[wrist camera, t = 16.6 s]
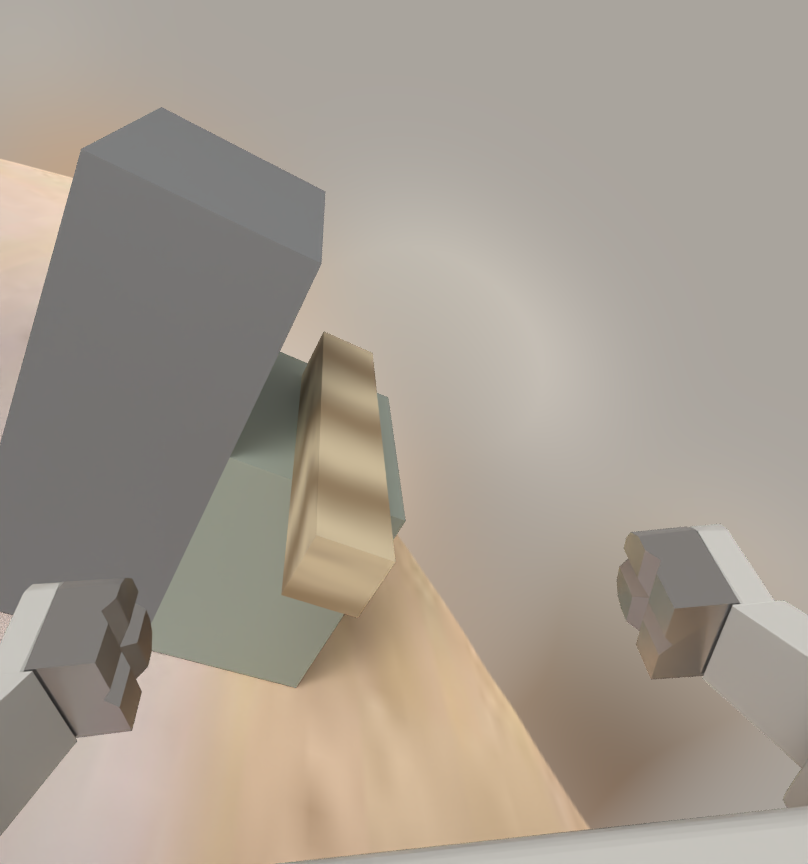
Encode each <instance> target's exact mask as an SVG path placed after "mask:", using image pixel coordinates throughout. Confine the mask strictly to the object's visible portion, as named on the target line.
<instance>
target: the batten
mask: <svg viewBox="0 0 808 864" xmlns="http://www.w3.org/2000/svg"><path fill="white" fill-rule="evenodd" d="M395 562H396V561H395V552H394V543H393V534H392V525H391V516H390V507H389V498H388V489H387V480H386V471H385V462H384V453H383V444H382V435H381V426H380V417H379V408H378V399H377V390H376V380H375V371H374V362H373V354H372V353H371V352H369V351H367V350H364V349H362V348H360V347H358V346H355V345H353V344H351V343H349V342H346V341H344V340H342V339H340V338H337V337H335V336H333V335H331V334H328V333H326V332H323V334H322V336H321V338H320V340H319V342H318V344H317V346H316V348H315V350H314V352H313V354H312V356H311V358H310V360H309V362H308V364H307V366H306V368H305V370H304V372H303V374H302V379H301V390H300V401H299V411H298V422H297V433H296V444H295V454H294V465H293V476H292V486H291V497H290V508H289V518H288V529H287V540H286V551H285V561H284V572H283V583H282V593H281V595H283V596H286V597H289V598H293V599H296V600H299V601H303V602H306V603H309V604H313V605H316V606H319V607H322V608H326V609H329V610H332V611H336V612H339V613H342V614H346V615H349V616H352V617H355V618H358V617H359V616H360V614H361V613H362V611H363V610H364V608H365V607H366V605H367V604H368V602H369V601H370V599H371V598H372V596H373V595H374V593H375V592H376V590H377V589H378V587H379V586H380V584H381V583H382V581H383V580H384V578H385V577H386V575H387V574H388V573H389V571H390V570H391V568H392V567H393V565H394V564H395Z"/></svg>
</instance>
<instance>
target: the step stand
mask: <svg viewBox="0 0 808 864" xmlns="http://www.w3.org/2000/svg"><path fill="white" fill-rule="evenodd" d="M324 206H325V191H323V190H321V189H319V188H317V187H315V186H313V185H311V184H310V183H308V182H306V181H304V180H302V179H300V178H298V177H296V176H294V175H292V174H290V173H288V172H286V171H284V170H282V169H281V168H278V167H277V166H275V165H273V164H271V163H269V162H267V161H265V160H263V159H261V158H259V157H257V156H255V155H253V154H251V153H249V152H248V151H246V150H244V149H242V148H239V147H238V146H236V145H234V144H232V143H230V142H228V141H226V140H224V139H222V138H220V137H218V136H216V135H215V134H213V133H211V132H209V131H207V130H205V129H203V128H201V127H199V126H197V125H195V124H193V123H191V122H189V121H187V120H185V119H183V118H182V117H180V116H178V115H176V114H174V113H172V112H170V111H168V110H166V109H164V108H162V107H161V108H159V109H157V110H155V111H153V112H152V113H150V114H148V115H146V116H144V117H142V118H140V119H138V120H136V121H134V122H132V123H130V124H128V125H126V126H124V127H123V128H121V129H119V130H117V131H115V132H113V133H111V134H109V135H107V136H105V137H103V138H101V139H99V140H98V141H96V142H94V143H92V144H90V145H88V146H86V147H84V148H82V149H81V152H80V155H79V159H78V163H77V166H76V170H75V174H74V177H73V181H72V184H71V188H70V192H69V195H68V199H67V203H66V206H65V210H64V214H63V217H62V221H61V225H60V228H59V232H58V235H57V239H56V243H55V246H54V250H53V254H52V257H51V261H50V265H49V268H48V272H47V276H46V279H45V283H44V286H43V290H42V294H41V297H40V301H39V305H38V308H37V312H36V316H35V319H34V323H33V326H32V330H31V334H30V337H29V341H28V345H27V348H26V352H25V356H24V359H23V363H22V367H21V370H20V374H19V377H18V381H17V385H16V388H15V392H14V396H13V399H12V403H11V407H10V410H9V414H8V418H7V421H6V425H5V428H4V432H3V436H2V439H1V443H0V612H4V613H8V614H12V615H13V614H14V612H15V610H16V608H17V606H18V604H19V601H20V599H21V597H22V595H23V593H24V592H25V591H26V590H27V589H28V588H29V587H30V586H31V585H32V584H42V583H56V582H66V581H81V580H97V579H113V578H132V579H133V581H134V583H135V585H136V587H137V589H138V591H139V592H138V595H137V599H136V602H135V603H136V604H138V605H140V606H141V607H143V608H145V609H146V610H147V613H148V615H149V618H150V621H151V627H152V651H155V652H159V653H163V654H167V655H171V656H175V657H178V658H182V659H186V660H190V661H194V662H198V663H202V664H206V665H209V666H213V667H217V668H221V669H225V670H229V671H233V672H237V673H240V674H244V675H248V676H252V677H256V678H260V679H264V680H268V681H271V682H275V683H279V684H283V685H287V686H291V687H295V688H296V687H297V685H298V684H299V682H300V681H301V679H302V678H303V676H304V675H305V673H306V672H307V670H308V669H309V667H310V666H311V664H312V663H313V661H314V660H315V658H316V656H317V655H318V653H319V652H320V650H321V649H322V647H323V646H324V644H325V643H326V641H327V640H328V638H329V637H330V635H331V634H332V632H333V631H334V629H335V628H336V626H337V625H338V623H339V622H340V620H341V618H342V617H343V615H344V614H342V613H339V612H336V611H332V610H329V609H326V608H322V607H319V606H316V605H313V604H309V603H306V602H303V601H299V600H296V599H293V598H289V597H286V596H283V595H281V593H282V583H283V572H284V561H285V551H286V540H287V529H288V518H289V508H290V497H291V486H292V476H293V465H294V454H295V444H296V433H297V422H298V411H299V401H300V390H301V379H302V374H303V372H304V370H305V368H306V366H307V364H308V363H305V362H303V361H301V360H298V359H296V358H294V357H291V356H288V355H286V354H284V353H282V352H280V350H281V348H282V346H283V343H284V342H285V339H286V337H287V335H288V333H289V331H290V329H291V327H292V325H293V323H294V320H295V318H296V316H297V314H298V312H299V310H300V308H301V306H302V304H303V301H304V299H305V297H306V295H307V293H308V291H309V289H310V287H311V284H312V282H313V280H314V278H315V276H316V274H317V272H318V270H319V268H320V265H321V261H322V242H323V224H324ZM377 399H378V408H379V417H380V426H381V435H382V444H383V453H384V462H385V471H386V480H387V489H388V498H389V507H390V516H391V525H392V534H393V539H394V538H395V536H396V535H397V533H398V532H399V530H400V528H401V527H402V526H403V524H404V523H405V521H406V520H405V514H404V506H403V499H402V492H401V485H400V478H399V470H398V463H397V457H396V449H395V442H394V435H393V428H392V420H391V413H390V406H389V399H388V397H386V396H383V395H381V394H378V393H377Z"/></svg>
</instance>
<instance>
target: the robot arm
mask: <svg viewBox="0 0 808 864" xmlns="http://www.w3.org/2000/svg"><path fill="white" fill-rule="evenodd" d="M624 550H625V552H626V554H627V556H628V559H627V560H626V561H625V562H624V563H623V564H622V565H621V566H619V571H618V576H617V591H618V598H619V602H620V606H621V609H622V612H623V614H624V617H625V619H626V621H627V622H628V623H629V624H631V625H632V626H633V627H635V628H636V629H637V630H639V635H638V638H637V642H636V646H637V648H638V650H639V653H640V655H641V657H642V659H643V662H644V664H645V666H646V669H647V671H648V674H649V676H650V678H651V679H666V678H680V677H693V676H703V678H702V679H703V680H704V681H706V682H707V683H708V684H709V685H710V686H711V687H712V688H713V689H714V690H715V691H717V692H718V693H719V694H720V695H721V696H722V697H723V698H724V699H726V700H727V701H728V702H729V703H730V704H731V705H732V706H733V707H734V708H735V709H737V710H738V711H739V712H740V713H741V714H742V715H743V716H744V717H745V718H746V719H748V720H749V721H750V722H751V723H752V724H753V725H754V726H755V727H756V728H758V729H759V730H760V731H761V732H762V733H763V734H764V735H765V736H766V737H767V738H769V739H770V740H771V741H772V742H773V743H774V744H775V745H776V746H778V747H779V748H780V749H781V750H782V751H783V752H784V753H785V754H786V755H787V756H789V757H790V758H791V759H792V760H793V761H794V762H795V763H796V764H797V765H799V766H800V767H801V770H800V771H799V773H798V774H797V776H796V777H795V779H794V780H793V782H792V783H791V785H790V786H789V788H788V789H787V791H786V793H785V796H784V797H783V801H784V803H785V805H786V807H787V808H782V809H772V810H764V811H755V812H745V813H736V814H727V815H718V816H708V817H699V818H690V819H681V820H671V821H663V822H653V823H644V824H635V825H625V826H617V827H608V828H599V829H589V830H579V831H570V832H561V833H552V834H543V835H533V836H524V837H515V838H506V839H497V840H488V841H478V842H469V843H460V844H451V845H442V846H433V847H424V848H414V849H405V850H396V851H387V852H378V853H369V854H360V855H350V856H341V857H332V858H323V859H314V860H305V861H296V862H286V863H277V864H808V615H807V614H805V613H804V612H802V611H801V610H799V609H797V608H796V607H794V606H793V605H791V604H789V603H788V602H786V601H784V600H780V601H775V600H774V599H773V597H772V596H771V594H770V593H769V591H768V590H767V588H766V587H765V585H764V584H763V582H762V581H761V579H760V578H759V576H758V575H757V573H756V572H755V570H754V569H753V567H752V566H751V564H750V563H749V561H748V559H747V558H746V556H745V555H744V554H743V552H742V550H741V549H740V547H739V546H738V544H737V543H736V542H735V540H734V538H733V537H732V535H731V534H730V532H729V531H728V529H727V528H726V527H724V526H723V525H721V524H714V525H702V526H691V527H678V528H668V529H658V530H648V531H638V532H631V533H630V534H629V535H628V536H627V538H626V542H625V545H624ZM138 592H139V591H138V589H137V587H136V585H135V583H134V581H133V579H132V578H113V579H97V580H81V581H66V582H56V583H42V584H32V585H31V586H30V587H29V588H28V589H27V590H26V591H25V592H24V593H23V595H22V597H21V599H20V601H19V604H18V606H17V608H16V610H15V612H14V614H13V616H12V619H11V621H10V623H9V625H8V627H7V629H6V631H5V634H4V636H3V638H2V640H1V642H0V836H1V835H2V833H3V832H4V831H5V830H6V828H7V827H8V826H9V825H10V823H11V822H12V821H13V820H14V819H15V817H16V816H17V815H18V814H19V812H20V811H21V810H22V809H23V807H24V806H25V805H26V804H27V802H28V801H29V800H30V799H31V797H32V796H33V795H34V794H35V793H36V791H37V790H38V789H39V788H40V786H41V785H42V784H43V783H44V781H45V780H46V779H47V778H48V776H49V775H50V774H51V773H52V771H53V770H54V769H55V768H56V767H57V765H58V764H59V763H60V762H61V760H62V759H63V758H64V757H65V755H66V754H67V753H68V752H69V750H70V749H71V748H72V747H73V745H74V744H75V743H76V742H77V739H76V738H79V737H87V736H95V735H103V734H111V733H119V732H127V731H132V728H133V724H134V721H135V717H136V713H137V709H138V705H139V701H140V697H141V693H142V691H141V689H140V687H139V685H138V683H137V681H136V679H137V677H138V676H139V675H140V674H141V673H142V672H143V671H144V670H145V669H146V668H147V667H148V664H149V660H150V656H151V651H152V627H151V621H150V618H149V615H148V613H147V610H146V609H145V608H143V607H141V606H140V605H138V604H136V603H135V602H136V599H137V595H138Z"/></svg>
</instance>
